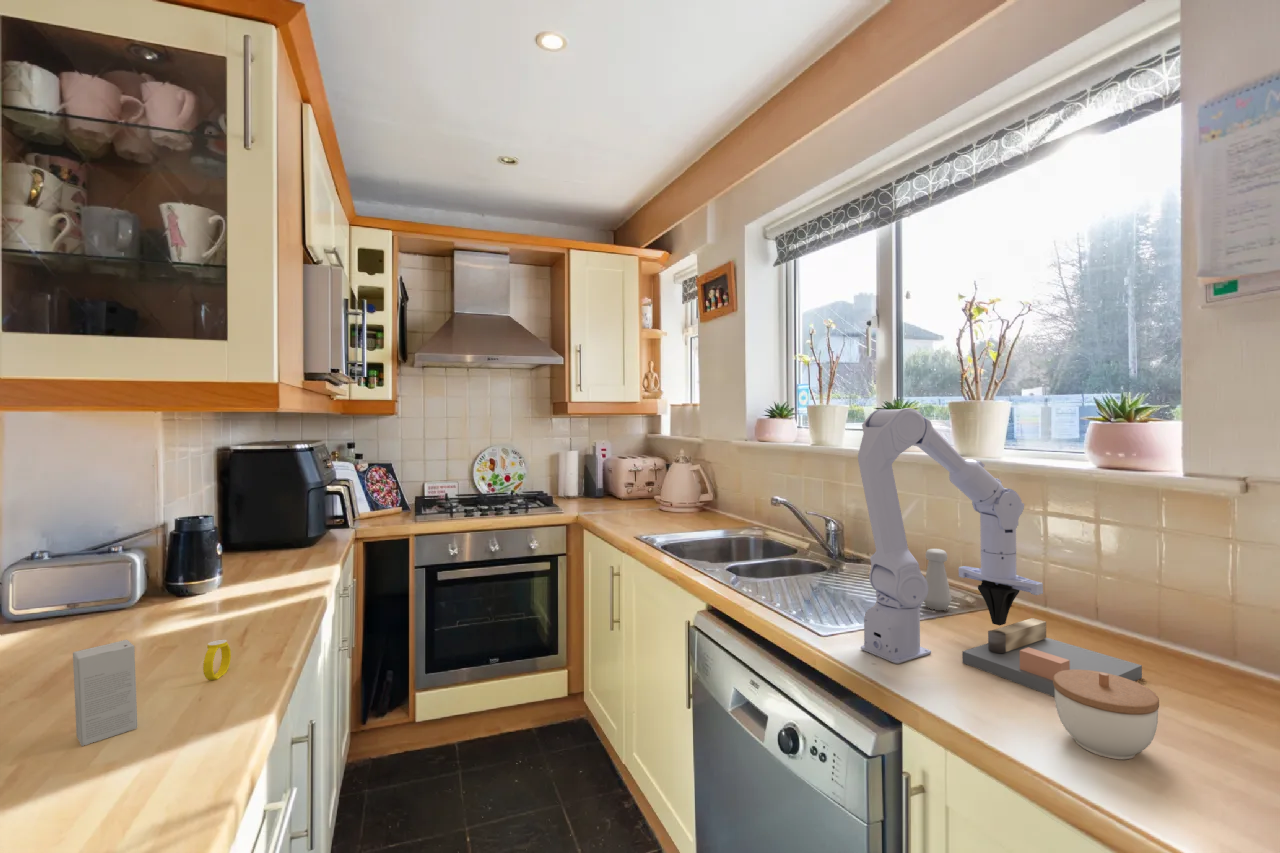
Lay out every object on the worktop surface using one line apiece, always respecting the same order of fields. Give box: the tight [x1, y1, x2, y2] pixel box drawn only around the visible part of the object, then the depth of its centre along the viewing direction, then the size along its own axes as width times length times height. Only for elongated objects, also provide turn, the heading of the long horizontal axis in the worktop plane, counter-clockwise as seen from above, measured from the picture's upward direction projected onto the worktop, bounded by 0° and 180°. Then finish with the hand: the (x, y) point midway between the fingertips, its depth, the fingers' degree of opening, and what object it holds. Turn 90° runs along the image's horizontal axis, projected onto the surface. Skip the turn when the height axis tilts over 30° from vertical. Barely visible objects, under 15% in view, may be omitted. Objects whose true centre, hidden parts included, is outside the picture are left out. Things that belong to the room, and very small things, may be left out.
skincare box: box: [72, 639, 138, 747], centre depth 83 cm, size 6×4×12 cm
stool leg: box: [987, 617, 1047, 653], centre depth 105 cm, size 14×3×3 cm, turn 118°
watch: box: [202, 639, 232, 681], centre depth 102 cm, size 6×3×6 cm, turn 9°
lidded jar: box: [1053, 670, 1160, 761], centre depth 77 cm, size 11×11×9 cm
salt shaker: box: [923, 548, 952, 611], centre depth 132 cm, size 6×6×13 cm
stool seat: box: [961, 636, 1143, 698], centre depth 99 cm, size 19×18×5 cm
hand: (998, 623), depth 111 cm, fingers closed
